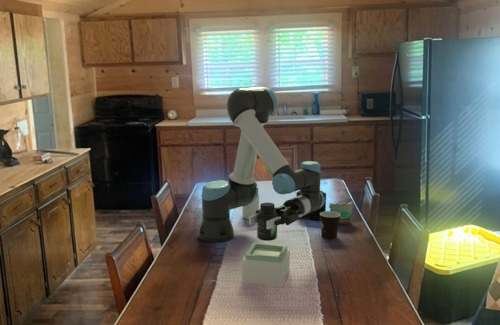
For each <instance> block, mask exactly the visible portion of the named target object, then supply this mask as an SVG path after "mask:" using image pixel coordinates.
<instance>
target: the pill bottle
mask: <svg viewBox="0 0 500 325" xmlns="http://www.w3.org/2000/svg"><path fill="white" fill-rule="evenodd" d="M241 207H242V210H241V211H242V214H241V215H242V218H244V219H247V220H249V217H250V216H252V215H255V214H256V210H259V209H260V195H259V193H258V196H257V198H256V200H255V201H254V202H253V203H251V204H249V205H247V206H241Z"/></svg>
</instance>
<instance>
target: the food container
mask: <svg viewBox="0 0 500 325" xmlns="http://www.w3.org/2000/svg"><path fill="white" fill-rule="evenodd" d="M328 206H329V207H328V208H330V209H329V211H332V212H337V213H339V214H340V220H339V226H342V227H343V226H349V225H350V223H351V217H352V210H353V208H354V203H353V201H352V200H349V201H347V202H338V203H332V202H330V203H329V205H328ZM339 226H338V227H339Z"/></svg>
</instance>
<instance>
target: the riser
mask: <svg viewBox="0 0 500 325" xmlns="http://www.w3.org/2000/svg"><path fill="white" fill-rule="evenodd" d="M290 249H291V248H288V245H285V244H274V243H273V244H272V243H263V242H252V244H251V245H250V247H249V249H248V250H247V251H246V254H245V255H244V257H243V258H242V260H241V262H242V263H241V264H242V266H241V267H242V268H241V270H242V272H241V273H242V275H241V278H242V280H241V281H242V283H249V284H257V285H268V286H274V287H275V286H278V287H283V286H284V285H285V282H286V279H287V278H288V274H289V272H290V258H291V257H290V256H291V253H290V252H291V250H290Z"/></svg>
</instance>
